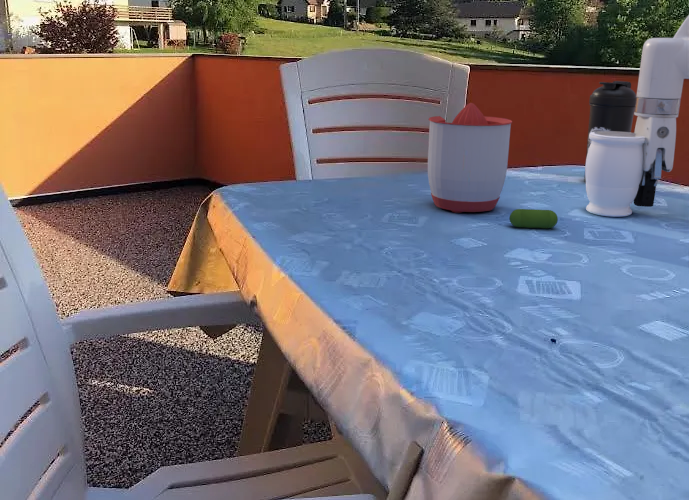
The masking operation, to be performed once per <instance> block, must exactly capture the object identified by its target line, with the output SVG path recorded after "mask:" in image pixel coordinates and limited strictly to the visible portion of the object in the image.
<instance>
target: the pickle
mask: <svg viewBox="0 0 689 500" xmlns="http://www.w3.org/2000/svg"><path fill="white" fill-rule="evenodd" d="M558 220H559V217H558V215H557V213H556V212H555V211H553V210H551V209H534V208H533V209H531V208H517V209H514V210H512V211H511V213H510V215H509V222H510V224H511V225H512V226H513V227H515V228H523V229H524V228H525V229H527V228H528V229H552V228H554V227H555V226H556V225H557V223H558Z"/></svg>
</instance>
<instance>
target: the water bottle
mask: <svg viewBox="0 0 689 500" xmlns="http://www.w3.org/2000/svg"><path fill="white" fill-rule="evenodd" d="M598 84H599V85H602V86H600V87H597V88H596V89H594V90H593V91H592V93H591V94H590V95H589V101H588V105H589V117H588V118H589V119H588V128H587V129H588V130H587V139H586V140H587V141H586V153H585V159H586V158H587V153H588V150H589V147H590V144H591V139H590V138H589V134H590V132H597V131H620V132H631V133H632V127H633V122H634V121H633V120H634V116H635V115H634V110H635V103H636V97H637V96H636V95H637V93H636V92H635V91H634V90H633V89H632V83H631V81H623V80H614V81H612V82H610V81H609V82H607V81H599V82H598ZM585 165H586V162H585ZM585 165H584V166H585ZM583 182H584V183H585V184H586V178H585V174H584V175H583Z"/></svg>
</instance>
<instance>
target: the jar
mask: <svg viewBox="0 0 689 500" xmlns="http://www.w3.org/2000/svg"><path fill="white" fill-rule="evenodd" d="M589 138H590V139H591V144H590V147H589V150H588V153H587V158H586V157H585V163H586V165H584V175H585V178H586V183H585V192H586V197H587V199H588V201H589V203H588V204H587V205H586V207H585V209H586V211H587V212H588V213H591V214H593V215H597V216H603V217H614V218H617V217H618V218H621V217H628V216H630V215H632V213H633V210H632V208H631V205H632V204H633V203H634V199H635V197H636V195H637V192H638V188H639V184H640V182H641V179H642V175H643V171H644V170H643V144H644V143H645V141H646V138H645V137H644V136H640V137H635V133H634V132H632V131H631V132H620V131H597V132H590V134H589Z"/></svg>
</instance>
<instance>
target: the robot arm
mask: <svg viewBox="0 0 689 500" xmlns="http://www.w3.org/2000/svg"><path fill="white" fill-rule="evenodd" d="M685 79H686V80H689V14H688V15H687V16H686V17H685V19H684V21H683V22H682V23H681V25H680V26H679V28H678V29H677V31H676V32H675V34H674V35H673V37H651V38H648V39H647V40H645V42H644V43H643V46H642V51H641V59H640V65H639V72H638V80H637V88H636V103H635V109H634V115H633V116H636V122H635V126H634V127H635V128H634V132H633V133H635V137H640V136H644V137H645V138H646V141H645V143H644V144H643V170H644V171H643V175H642V179H641V182H640V184H639V188H638V192H637V195H636V197H635V199H634V201H633V205H635V206H636V207H647V208H648V207H649V208H650V207H654V203H655V196H656V190H657V186H658V181H659V180H661V179H662V171H664V172H666V173H670V172H671V171H672V170H673V167H674V162H675V161H674V160H675V151H676V150H675V149H676V141H677V139H676V138H677V118H679V113H680V108H681V107H680V106H681V99H682V94H683V88H684V87H683V86H684V82H685V81H684V80H685Z"/></svg>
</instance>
